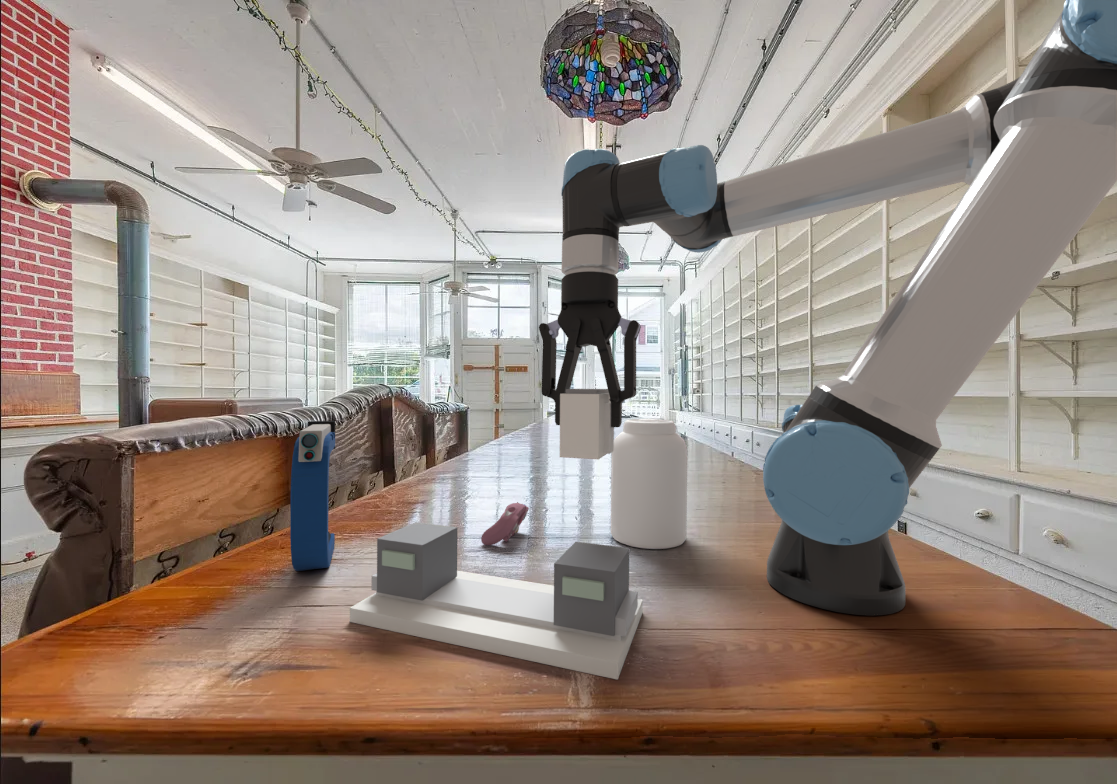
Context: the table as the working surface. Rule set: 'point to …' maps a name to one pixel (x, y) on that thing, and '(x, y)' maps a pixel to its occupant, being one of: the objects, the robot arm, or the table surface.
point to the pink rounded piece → (505, 524)
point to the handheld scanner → (311, 497)
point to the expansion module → (582, 423)
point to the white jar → (649, 485)
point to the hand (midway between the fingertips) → (587, 450)
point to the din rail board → (506, 602)
